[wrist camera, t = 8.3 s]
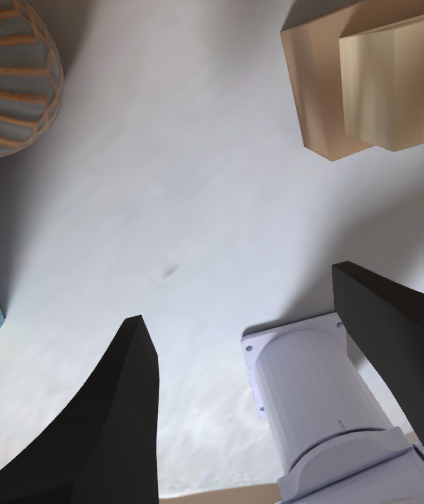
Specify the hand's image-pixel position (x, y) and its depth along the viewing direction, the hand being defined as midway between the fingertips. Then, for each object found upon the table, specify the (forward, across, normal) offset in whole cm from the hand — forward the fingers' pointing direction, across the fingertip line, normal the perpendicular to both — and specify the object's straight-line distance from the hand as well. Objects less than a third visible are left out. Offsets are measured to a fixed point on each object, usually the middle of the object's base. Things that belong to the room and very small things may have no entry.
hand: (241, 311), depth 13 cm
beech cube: (+6, -9, -6) cm, 12 cm away
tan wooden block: (+10, -9, -6) cm, 15 cm away
